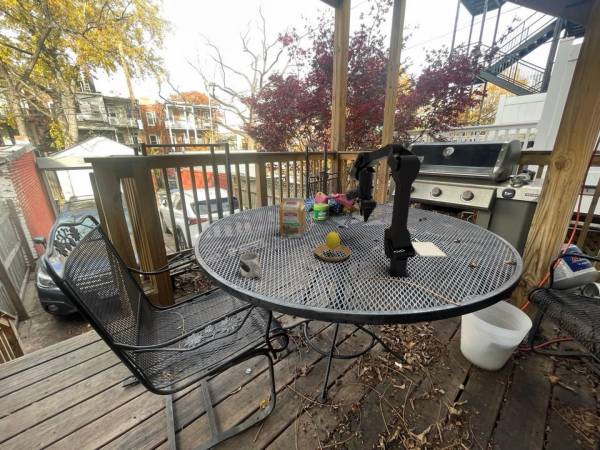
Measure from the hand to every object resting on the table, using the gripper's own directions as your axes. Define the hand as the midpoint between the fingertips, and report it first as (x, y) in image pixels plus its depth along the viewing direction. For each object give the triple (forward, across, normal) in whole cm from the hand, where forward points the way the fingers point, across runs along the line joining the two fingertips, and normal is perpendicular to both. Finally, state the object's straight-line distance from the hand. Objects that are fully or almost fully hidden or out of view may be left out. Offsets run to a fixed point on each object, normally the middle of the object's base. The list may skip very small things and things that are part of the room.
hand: (363, 218), depth 111 cm
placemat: (+12, +6, +26) cm, 29 cm away
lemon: (+10, +12, -14) cm, 21 cm away
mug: (+12, +29, -43) cm, 53 cm away
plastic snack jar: (+12, -12, -32) cm, 36 cm away
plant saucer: (+13, +12, -14) cm, 22 cm away
